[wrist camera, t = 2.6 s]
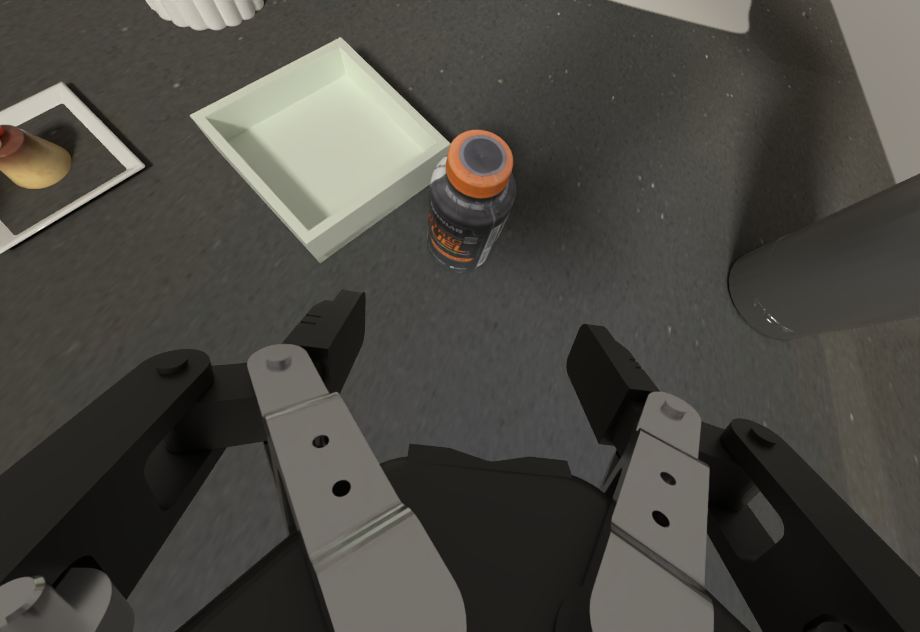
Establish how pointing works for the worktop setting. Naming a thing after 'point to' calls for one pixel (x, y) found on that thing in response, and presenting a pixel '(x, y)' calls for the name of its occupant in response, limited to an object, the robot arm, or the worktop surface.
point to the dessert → (50, 153)
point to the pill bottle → (470, 200)
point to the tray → (325, 145)
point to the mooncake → (206, 12)
